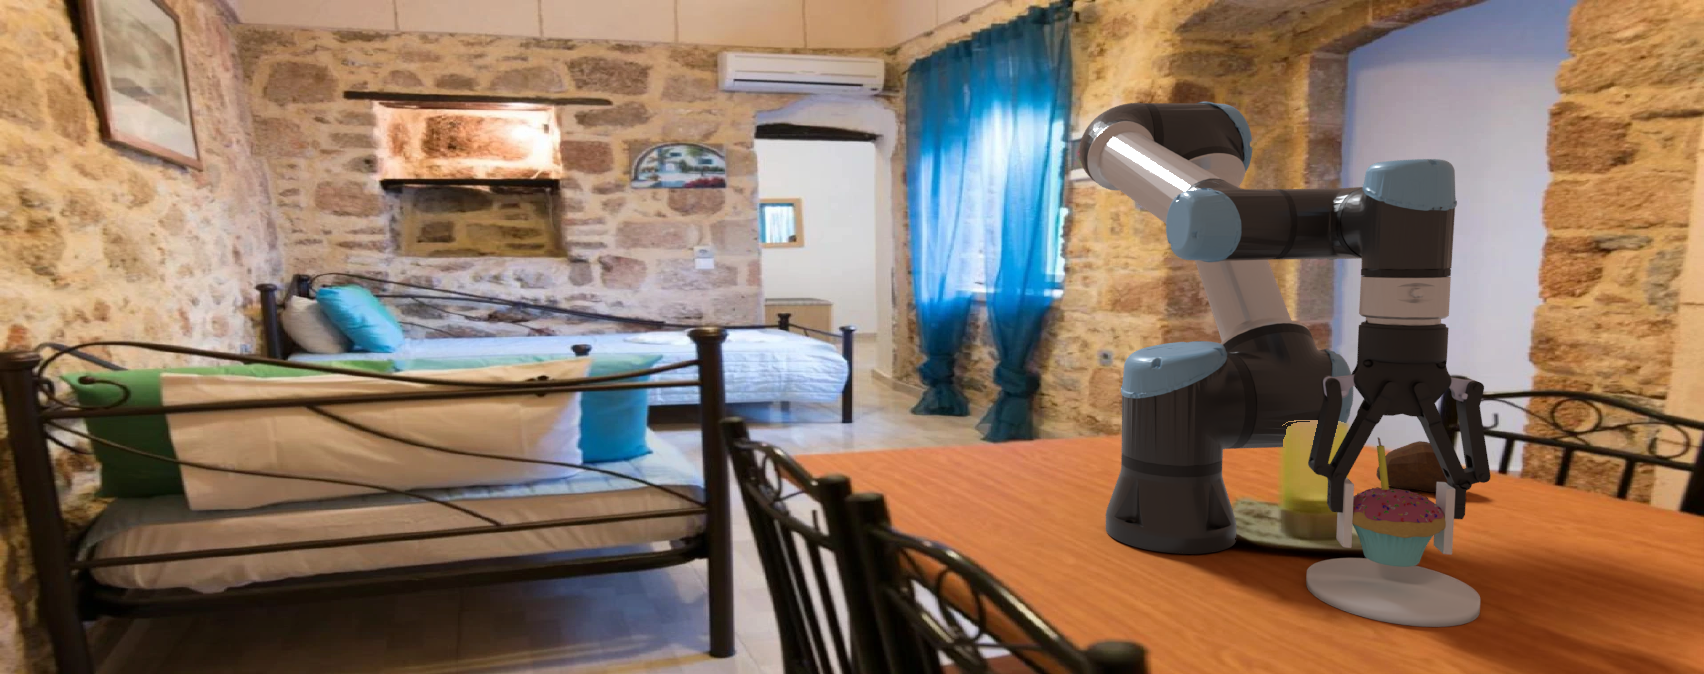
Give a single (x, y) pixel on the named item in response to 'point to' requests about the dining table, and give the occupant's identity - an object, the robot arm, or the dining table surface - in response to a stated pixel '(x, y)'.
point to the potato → (1413, 467)
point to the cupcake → (1394, 521)
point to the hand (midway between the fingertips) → (1392, 546)
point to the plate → (1393, 592)
